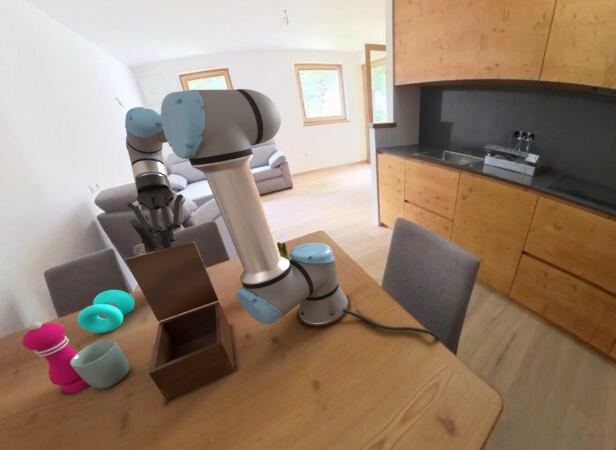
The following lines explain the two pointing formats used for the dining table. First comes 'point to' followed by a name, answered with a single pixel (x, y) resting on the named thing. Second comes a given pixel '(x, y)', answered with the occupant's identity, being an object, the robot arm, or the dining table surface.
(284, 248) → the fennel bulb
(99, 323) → the donuts
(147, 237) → the ceramic jug
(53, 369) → the pepper mill
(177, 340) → the chest
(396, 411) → the dining table surface
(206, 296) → the lid
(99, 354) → the cup
